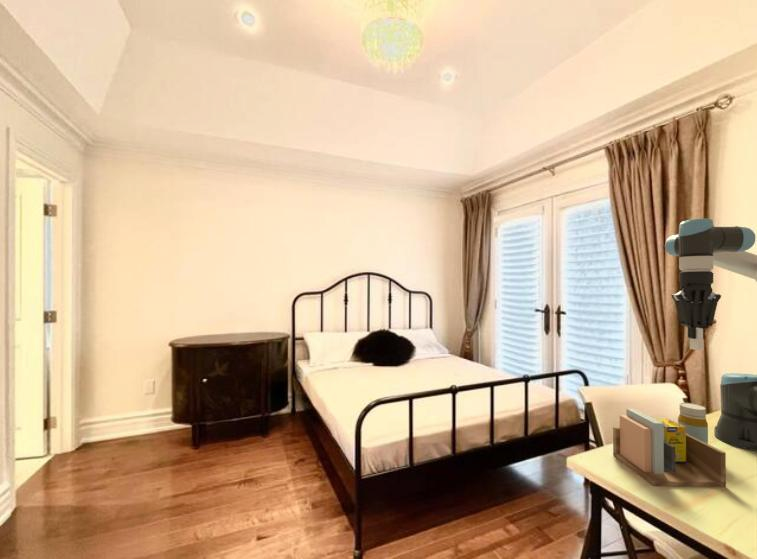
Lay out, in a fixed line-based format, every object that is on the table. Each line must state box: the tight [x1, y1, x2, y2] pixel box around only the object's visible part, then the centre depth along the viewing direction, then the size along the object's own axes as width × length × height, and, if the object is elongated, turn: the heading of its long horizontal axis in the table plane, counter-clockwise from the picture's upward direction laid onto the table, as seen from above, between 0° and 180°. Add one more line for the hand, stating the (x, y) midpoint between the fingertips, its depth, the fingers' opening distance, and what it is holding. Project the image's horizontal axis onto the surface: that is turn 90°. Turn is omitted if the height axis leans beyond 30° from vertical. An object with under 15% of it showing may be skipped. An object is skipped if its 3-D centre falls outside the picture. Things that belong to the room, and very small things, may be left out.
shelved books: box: [619, 408, 664, 474], centre depth 100 cm, size 4×11×14 cm, turn 179°
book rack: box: [612, 426, 727, 488], centre depth 98 cm, size 19×16×9 cm
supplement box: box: [655, 418, 686, 464], centre depth 102 cm, size 6×6×11 cm
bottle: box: [677, 402, 709, 444], centre depth 108 cm, size 7×7×15 cm
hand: (696, 349), depth 102 cm, fingers closed
